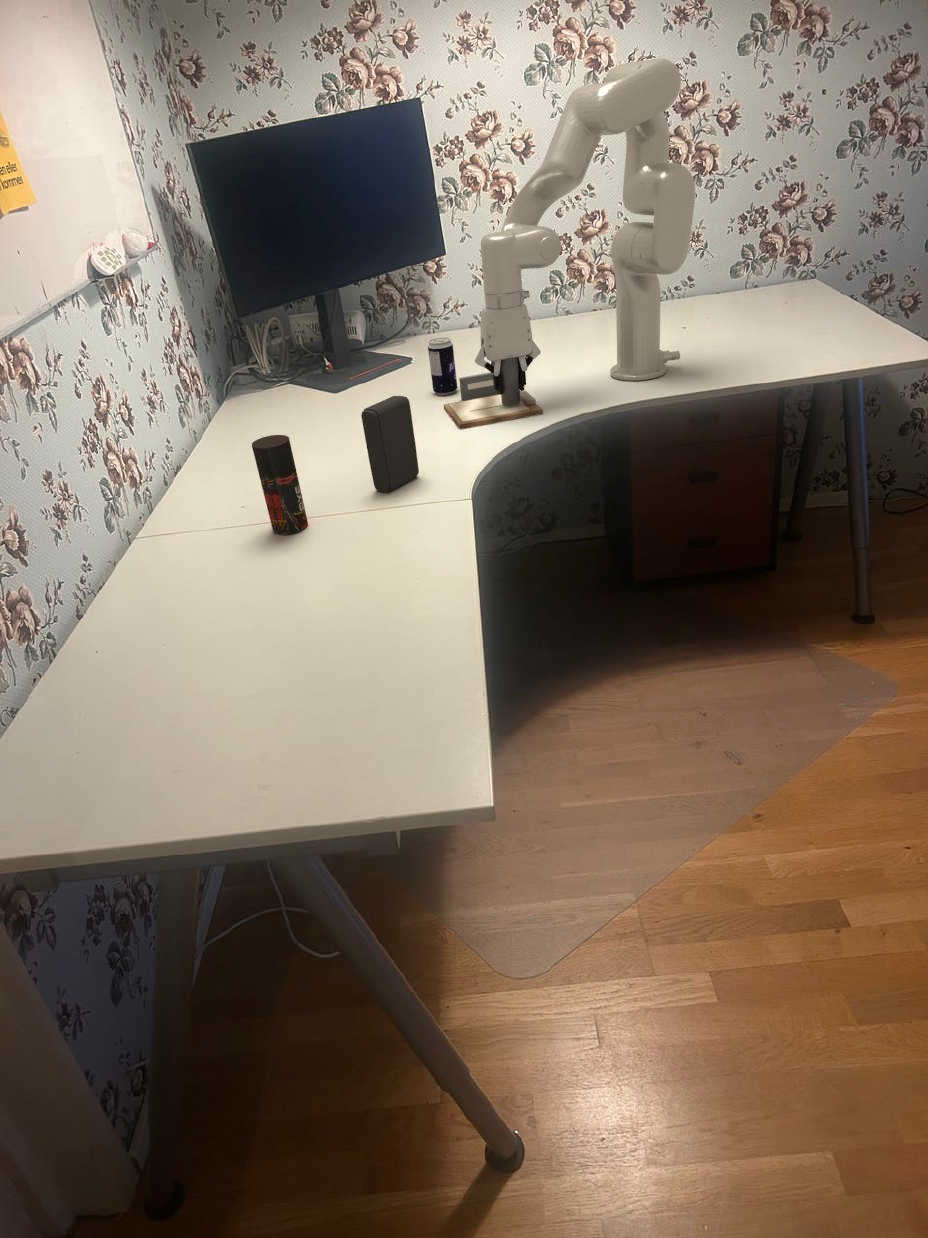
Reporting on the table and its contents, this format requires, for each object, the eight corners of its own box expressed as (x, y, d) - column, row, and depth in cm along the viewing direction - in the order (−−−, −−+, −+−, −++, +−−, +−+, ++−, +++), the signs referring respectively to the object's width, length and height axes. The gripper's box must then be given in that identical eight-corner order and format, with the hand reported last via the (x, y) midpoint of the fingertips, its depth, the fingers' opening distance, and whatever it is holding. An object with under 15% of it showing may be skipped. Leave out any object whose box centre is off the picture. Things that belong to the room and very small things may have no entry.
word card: (504, 392, 193) (502, 370, 190) (505, 393, 192) (503, 371, 189) (461, 399, 191) (459, 377, 189) (462, 401, 190) (460, 379, 188)
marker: (517, 397, 182) (514, 341, 176) (523, 403, 179) (519, 346, 172) (499, 401, 181) (494, 345, 175) (504, 406, 178) (500, 349, 172)
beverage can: (455, 396, 194) (449, 342, 188) (431, 397, 195) (424, 344, 189) (460, 388, 199) (454, 336, 193) (436, 389, 200) (430, 337, 194)
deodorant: (274, 522, 144) (253, 437, 136) (309, 517, 144) (290, 432, 136) (271, 537, 139) (249, 450, 131) (307, 532, 139) (287, 445, 131)
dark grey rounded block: (406, 472, 157) (394, 392, 149) (422, 476, 155) (411, 395, 147) (372, 491, 151) (357, 409, 144) (388, 495, 149) (374, 411, 141)
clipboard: (521, 394, 190) (521, 385, 189) (543, 413, 177) (542, 404, 176) (443, 408, 187) (442, 399, 186) (459, 429, 174) (458, 419, 173)
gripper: (538, 291, 174) (542, 380, 183) (459, 303, 171) (467, 392, 181) (549, 297, 167) (553, 389, 177) (468, 309, 165) (476, 402, 174)
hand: (510, 390), depth 179 cm, fingers closed on marker, 4 cm apart
